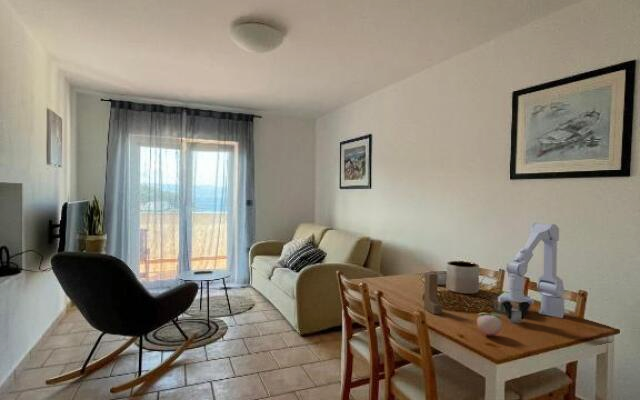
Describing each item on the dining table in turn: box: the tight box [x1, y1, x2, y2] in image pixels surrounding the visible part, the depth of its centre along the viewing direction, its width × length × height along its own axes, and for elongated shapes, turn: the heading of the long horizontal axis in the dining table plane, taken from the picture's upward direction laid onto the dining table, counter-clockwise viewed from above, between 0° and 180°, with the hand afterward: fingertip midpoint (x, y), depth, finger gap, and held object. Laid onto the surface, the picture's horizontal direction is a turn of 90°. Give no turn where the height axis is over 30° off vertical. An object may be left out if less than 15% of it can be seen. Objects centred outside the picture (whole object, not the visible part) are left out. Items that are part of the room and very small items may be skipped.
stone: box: [508, 309, 522, 325], centre depth 158 cm, size 5×5×5 cm
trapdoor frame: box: [493, 290, 528, 315], centre depth 172 cm, size 11×15×7 cm
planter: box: [445, 260, 480, 295], centre depth 207 cm, size 18×18×16 cm
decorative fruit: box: [476, 310, 504, 337], centre depth 141 cm, size 9×8×10 cm
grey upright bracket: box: [423, 271, 443, 315], centre depth 170 cm, size 9×4×18 cm, turn 14°
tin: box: [429, 270, 447, 286], centre depth 219 cm, size 15×3×8 cm, turn 84°
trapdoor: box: [498, 291, 532, 313], centre depth 171 cm, size 12×12×5 cm
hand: (515, 318), depth 158 cm, fingers closed on stone, 5 cm apart
